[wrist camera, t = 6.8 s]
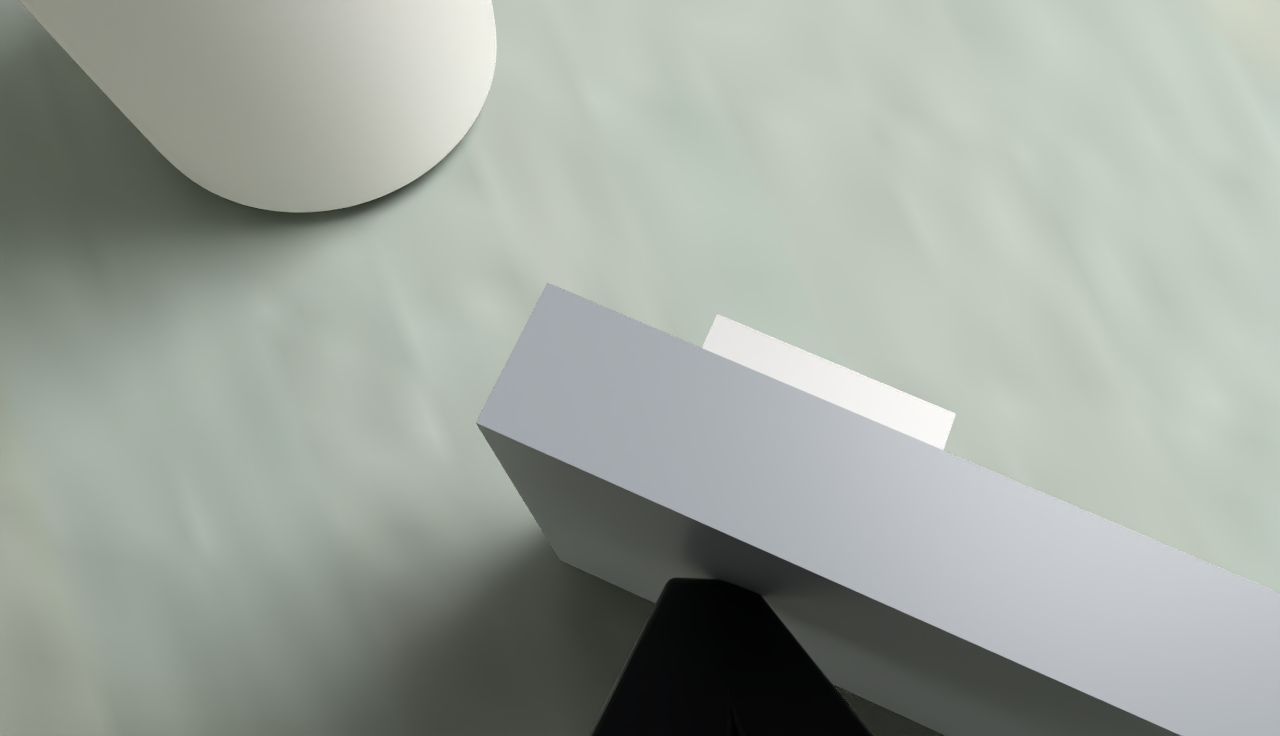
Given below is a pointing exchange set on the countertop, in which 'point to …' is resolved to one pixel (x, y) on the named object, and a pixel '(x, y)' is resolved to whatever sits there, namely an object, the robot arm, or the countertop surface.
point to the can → (288, 88)
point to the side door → (869, 535)
